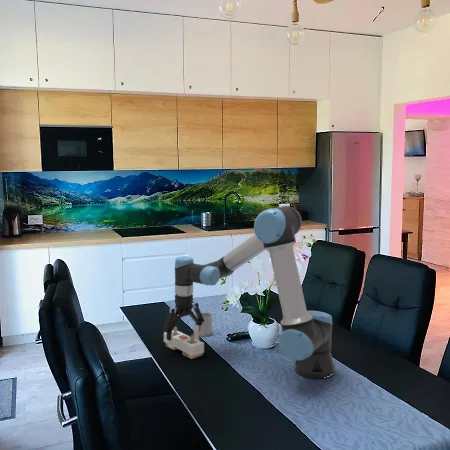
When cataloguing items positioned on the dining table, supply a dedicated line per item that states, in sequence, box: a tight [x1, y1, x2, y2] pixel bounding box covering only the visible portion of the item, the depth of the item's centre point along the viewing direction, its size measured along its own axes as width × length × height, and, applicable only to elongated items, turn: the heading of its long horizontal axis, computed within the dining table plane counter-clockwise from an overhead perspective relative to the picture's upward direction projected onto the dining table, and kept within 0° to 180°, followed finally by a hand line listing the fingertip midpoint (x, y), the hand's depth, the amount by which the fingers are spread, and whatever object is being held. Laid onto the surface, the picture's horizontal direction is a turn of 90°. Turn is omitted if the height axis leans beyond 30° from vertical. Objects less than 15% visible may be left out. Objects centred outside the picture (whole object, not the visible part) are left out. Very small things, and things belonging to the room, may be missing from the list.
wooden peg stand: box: [165, 326, 204, 360], centre depth 206 cm, size 18×6×8 cm, turn 42°
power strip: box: [163, 329, 205, 356], centre depth 206 cm, size 20×6×5 cm, turn 42°
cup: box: [195, 312, 213, 337], centre depth 227 cm, size 7×10×9 cm
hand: (183, 343), depth 206 cm, fingers open, 13 cm apart
